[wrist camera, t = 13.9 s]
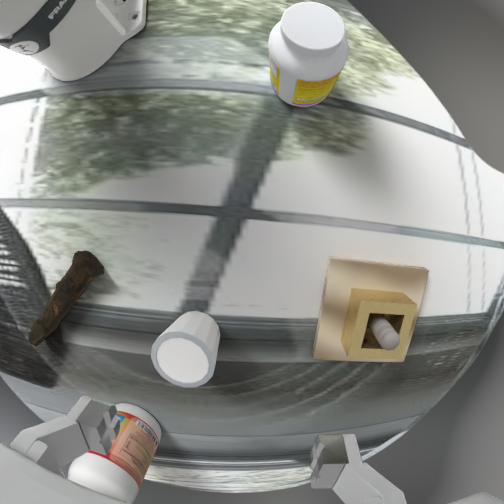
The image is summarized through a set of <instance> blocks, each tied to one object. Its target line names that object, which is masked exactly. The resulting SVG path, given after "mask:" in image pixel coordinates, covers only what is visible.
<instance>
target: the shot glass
mask: <svg viewBox="0 0 504 504" xmlns="http://www.w3.org/2000/svg"><path fill="white" fill-rule="evenodd" d="M219 339H220V331H219V326H218V325H217V323H216V322H215V320H214V319H213V318H211V317H210V316H209V315H207V314H206V313H202V312H199V311H191V312H187V313H185V314H183V315H181V316H180V317H179V318H178V319H177V320H176V321H175V322H174V323H173V324H172V325H171V326H169V327H168V328H167V329H166V330H165V331H164V332H163V333H162V334H161V335H160V336H159V337H158V338H157V339H156V341H155V342H154V344H153V345H152V350H151V358H152V361H153V364H154V367H155V369H156V370H157V371H158V372H159V374H160V375H161V376H162V377H163V378H165V379H166V380H168V381H169V382H171V383H172V384H175V385H178V386H181V387H197V386H200V385H202V384H205V383H206V382H207V381H208V380H209V379H210V378H211V377H212V376H213V373H214V368H215V364H216V358H217V351H218V345H219Z"/></svg>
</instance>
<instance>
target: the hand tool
mask: <svg viewBox="0 0 504 504" xmlns="http://www.w3.org/2000/svg"><path fill="white" fill-rule="evenodd" d="M72 262H73V263H72V265H71V267H70V268H69V270H68V271H67V273H66V275H65V276H64V277H63V278H62V279H61V281H59V282H58V283H57V284H56V290H55V292H54V293H53V295H52V297H51V298H50V300H49V302H48V303H47V305H46V307H45V309H44V310H43V312H42V314H41V315H40V317H39V318H38V319H37V320H36V321H35V322H34V324H33V326H32V328H31V331H30V333H29V337H28V338H29V342H30V343H31V344H33V345H35V346H37V345H38V344H40V343H41V342H42V341H43V340H45V339H46V338H47V337H48V335H49V334H51V333H52V332H53V331H54V330H55V329H56V328H57V327H59V325H60V322H61V320H62V319H63V318H64V317H65V315H66V314H67V313H68V311H69V310H70V309H71V308H72V306H73V304H74V303H75V302H76V300H78V299H79V297H80V296H81V295H82V294H83V293H84V291H85V289H86V288H87V287H88V285H89V284H90V282H91V281H92V280H93V279H94V278H95V277H98V276H100V275H101V274H104V267H103V266H102V265H101V264H100V262H99V261H98V259H97V258H96V257H95V256H94V255H93V254H92V253H90V252H88V251H78V252H76V253H75V254H74V258H73V260H72Z"/></svg>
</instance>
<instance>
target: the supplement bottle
mask: <svg viewBox="0 0 504 504" xmlns="http://www.w3.org/2000/svg"><path fill="white" fill-rule="evenodd" d="M268 47H269V63H270V79H271V84H272V87H273V89H274V91H275V93H276V94H277V95H278V96H279V97H280V98H281V99H282V100H283V101H285V102H286V103H288V104H291V105H294V106H298V107H309V106H313V105H316V104H318V103H320V102H321V101H323V100H324V99H325V98H326V97H327V96H328V94H329V93H330V91H331V89H332V87H333V86H334V84H335V82H336V80H337V78H338V76H339V74H340V73H341V71H342V69H343V67H344V65H345V63H346V61H347V58H348V52H349V48H348V43H347V40H346V37H345V25H344V22H343V20H342V18H341V17H340V16H339V14H338V13H337V12H335V11H334V10H333V9H331V8H330V7H328V6H326V5H323V4H320V3H316V2H302V3H297V4H295V5H293V6H291V7H289V8H288V9H287V10H286V11H285V12H284V14H283V16H282V19H281V21H280V22H278V23H277V24H276V25H275V27H274V28H273V29H272V31H271V33H270V36H269V41H268Z"/></svg>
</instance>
